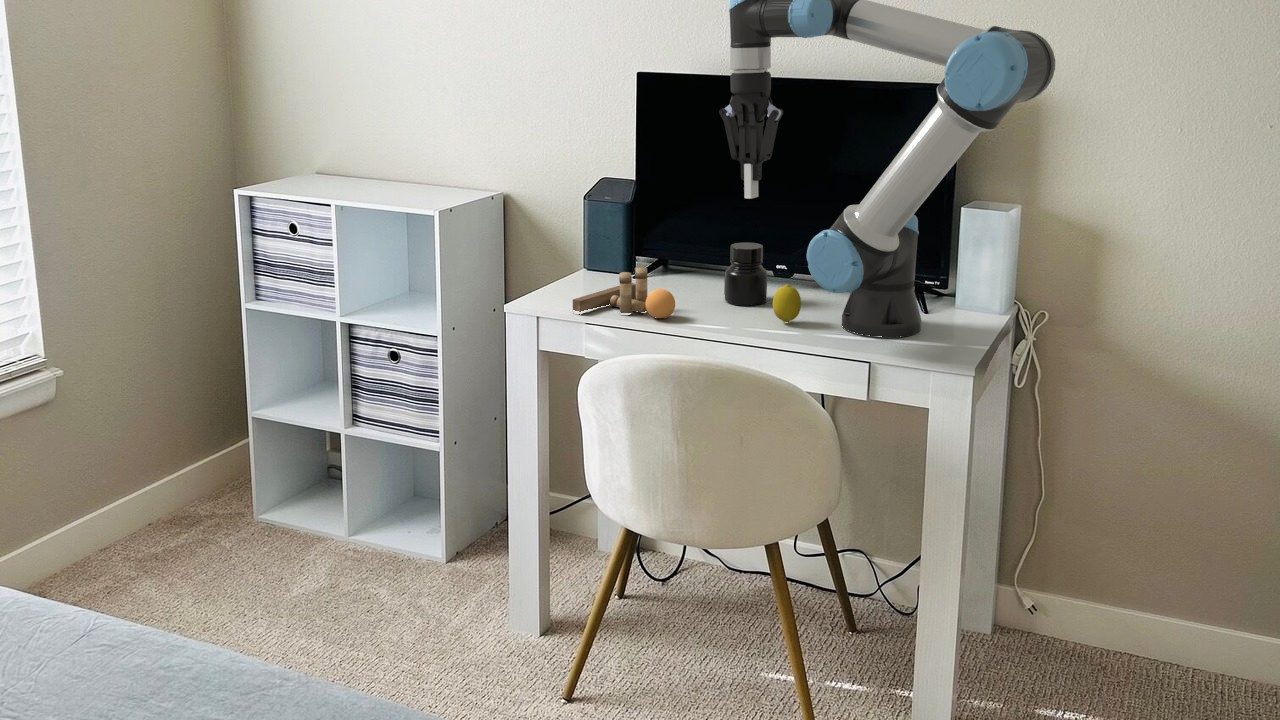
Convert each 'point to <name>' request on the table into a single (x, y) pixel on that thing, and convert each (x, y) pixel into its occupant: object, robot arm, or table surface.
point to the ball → (660, 303)
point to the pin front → (636, 304)
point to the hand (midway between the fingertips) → (751, 197)
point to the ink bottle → (746, 275)
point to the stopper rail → (598, 298)
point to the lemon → (786, 303)
